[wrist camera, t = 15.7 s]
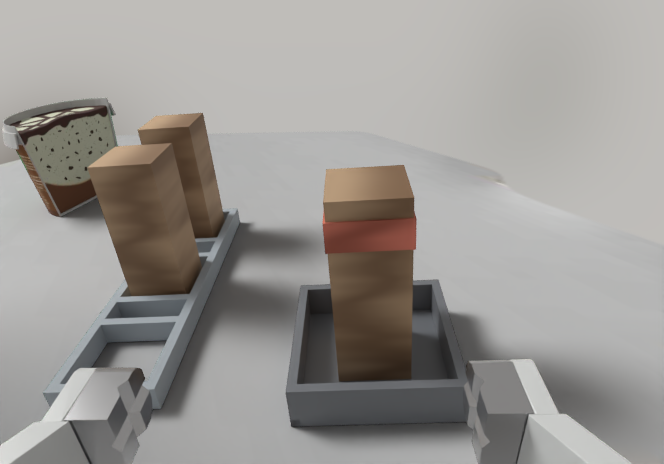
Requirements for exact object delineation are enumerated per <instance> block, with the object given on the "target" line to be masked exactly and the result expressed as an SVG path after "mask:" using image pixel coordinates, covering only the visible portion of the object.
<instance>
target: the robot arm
mask: <svg viewBox="0 0 664 464" xmlns="http://www.w3.org/2000/svg"><path fill="white" fill-rule="evenodd" d="M465 373H466V376H467V380H468V382H467V383H466V384H465V385H464V388H463V408H464V413H465V418H466V422H467V425H468V426H469V427H470V428H471V429H472V430H473V436H472V444H473V448H474V451H475V455H476V458H477V462H478V464H632V463H631V462H630V461H628V460H627V459H626V458H624V457H623V456H622V455H620V454H619V453H618V452H616V451H615V450H614V449H612V448H611V447H610V446H608V445H607V444H606V443H604V442H603V441H602V440H600V439H599V438H598V437H596V436H595V435H594V434H592V433H591V432H590V431H588V430H587V429H586V428H584V427H583V426H582V425H580V424H579V423H578V422H576V421H575V420H574V419H572V418H571V417H570V416H568V415H567V414H560V413H559V411H558V409H557V407H556V405H555V403H554V401H553V399H552V397H551V395H550V393H549V391H548V389H547V387H546V385H545V383H544V381H543V379H542V377H541V375H540V373H539V371H538V369H537V367H536V365H535V363H534V361H532V360H531V359H516V360H482V361H468V363H467V365H466V372H465ZM144 380H145V377H144V374H143V372H142V369H140V368H79V369H78V370H76V371H75V372H74V373H73V374H72V376H71V377H70V379H69V380H68V382H67V383H66V385H65V386H64V388H63V389H62V391H61V392H60V394H59V395H58V397H57V398H56V400H55V401H54V403H53V404H52V406H51V407H50V409H49V410H48V412H47V413H46V415H45V416H44V418H43V419H42V420H41V422H34V423H32V424H31V425H29V426H28V427H26V428H25V429H23V430H22V431H21V432H19V433H18V434H16V435H15V436H13V437H12V438H10V439H9V440H7V441H6V442H4V443H3V444H1V445H0V464H132V462H133V460H134V457H135V455H136V453H137V450H138V448H139V446H140V445H139V442H138V439H137V437H138V436H139V435H140V434H142V433H143V432H144V431H145V430H146V429H147V427H148V424H149V422H150V419H151V414H152V407H153V406H152V397H151V394H150V391H149V390H148V389H146V388H145V387H144V386H142V384H143V382H144Z"/></svg>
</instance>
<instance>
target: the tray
mask: <svg viewBox="0 0 664 464" xmlns="http://www.w3.org/2000/svg"><path fill="white" fill-rule="evenodd" d="M465 372H466V368H465V365H464V362H463V358H462V355H461V352H460V349H459V345H458V342H457V339H456V336H455V332H454V329H453V326H452V322H451V319H450V316H449V313H448V309H447V306H446V303H445V300H444V296H443V293H442V290H441V287H440V283H439V280H417V281H413V302H412V365H411V379H398V380H368V381H339V377H338V366H337V354H336V343H335V331H334V320H333V309H332V297H331V286H330V284H325V285H302V286H301V288H300V295H299V302H298V309H297V316H296V323H295V330H294V337H293V344H292V351H291V358H290V365H289V372H288V379H287V386H286V397H287V403H288V409H289V415H290V421H291V427H293V426H330V425H366V424H403V423H440V422H466V418H465V413H464V408H463V388H464V385H465V384H466V383H467V382H468V380H467V376H466V373H465Z"/></svg>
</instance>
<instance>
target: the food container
mask: <svg viewBox="0 0 664 464" xmlns="http://www.w3.org/2000/svg"><path fill="white" fill-rule="evenodd" d="M111 115H115V112H114V110H113V108H112V106H111V104H110V103H108V100H107V98H91V99H79V100H72V101H64V102H58V103H53V104H48V105H44V106H39V107H35V108H31V109H28V110H24V111H21V112H18V113H16V114H13V115H11V116H9V117H7V118H5V119H4V120H3V125H4V126H3V128H2V132H3V138H4V144H5V146H7V147H9V148H12V149H16V151H17V153H18V155H19V157H20V159H21V161H22V162H23V164H24V166H25V168H26V170H27V172H28V174H29V175H30V177H31V179H32V181H33V183H34V185H35V187H36V189H37V190H38V192H39V194H40V196H41V198H42V200H43V202H44V204H45V205H46V207H47V209H48V211H49V213H51V214H52V215H54V216H58V217H61V216H63V215H65V214H67V213H69V212H71V211H73V210H75V209H77V208H79V207H80V206H82V205H84V204H86V203H88V202H90V201H92V200H94V199H96V198H97V195H96V192H95V189H94V186H93V183H92V180H91V177H90V174H89V172H88V169H87V167H89V166H90V165H91V164H93V163H94V162H95V161H97V160H98V159H99V158H101V157H102V156H103V155H105V154H106V153H107V152H109V151H110V150H111V149H113V148H114V147H118V145H117V141H116V136H115V131H114V127H113V122H112V117H111Z"/></svg>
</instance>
